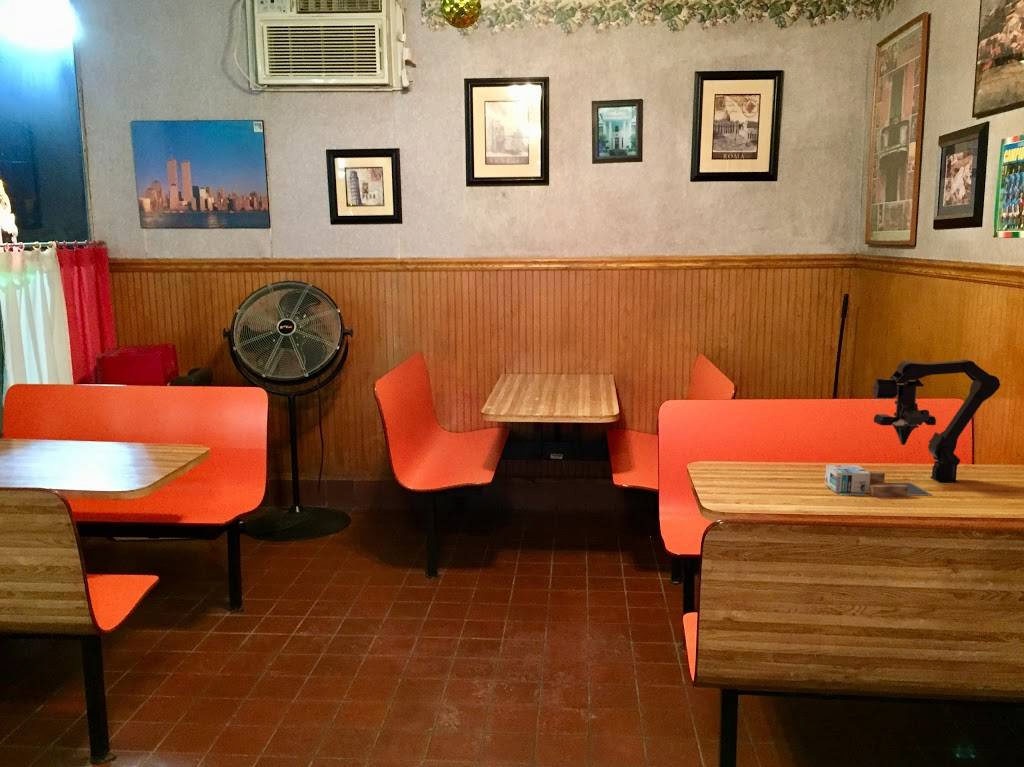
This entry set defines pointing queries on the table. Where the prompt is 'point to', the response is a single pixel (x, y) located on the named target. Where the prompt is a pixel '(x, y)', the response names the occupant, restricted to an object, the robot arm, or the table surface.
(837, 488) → the light bulb box
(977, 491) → the table surface
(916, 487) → the mat
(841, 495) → the teal pad
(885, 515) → the table surface
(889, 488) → the walnut track
